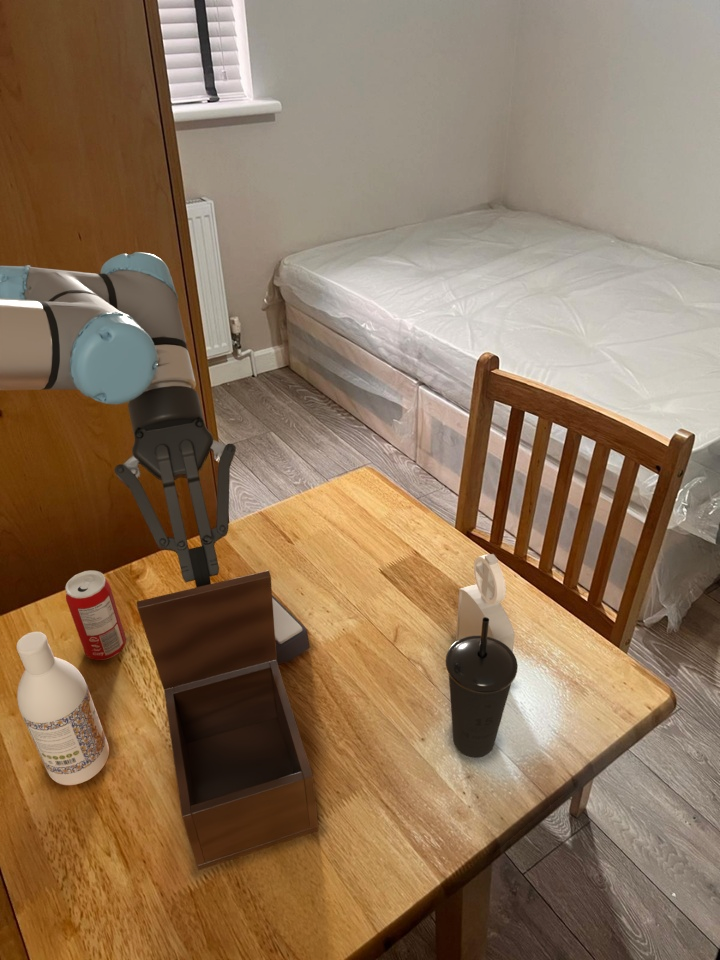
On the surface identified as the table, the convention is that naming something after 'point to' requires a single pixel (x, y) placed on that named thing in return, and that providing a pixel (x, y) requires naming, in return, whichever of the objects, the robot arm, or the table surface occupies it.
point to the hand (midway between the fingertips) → (208, 609)
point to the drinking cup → (478, 690)
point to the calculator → (288, 634)
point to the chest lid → (210, 629)
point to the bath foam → (59, 713)
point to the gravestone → (485, 603)
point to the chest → (239, 764)
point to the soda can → (95, 615)
